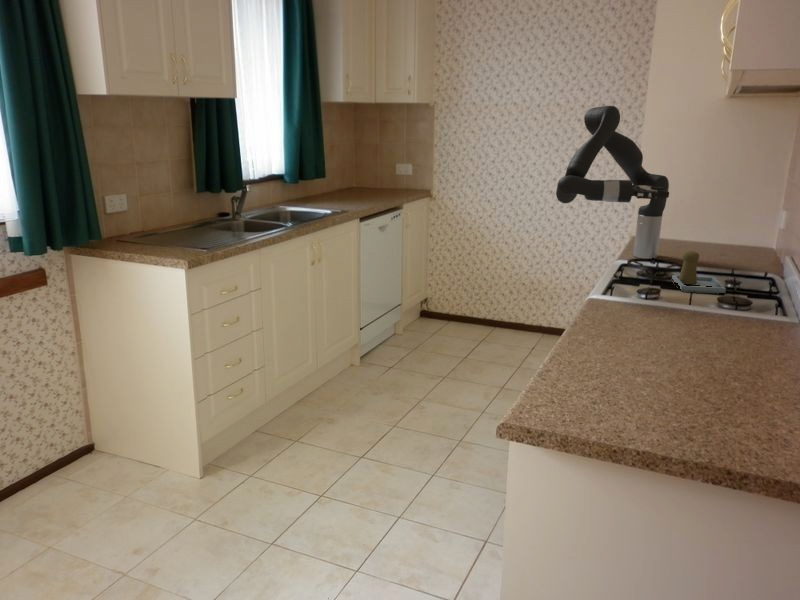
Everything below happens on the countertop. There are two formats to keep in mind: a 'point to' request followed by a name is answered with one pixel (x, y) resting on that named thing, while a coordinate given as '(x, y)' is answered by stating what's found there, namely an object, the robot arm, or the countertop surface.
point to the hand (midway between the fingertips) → (665, 192)
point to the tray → (701, 285)
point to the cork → (689, 268)
